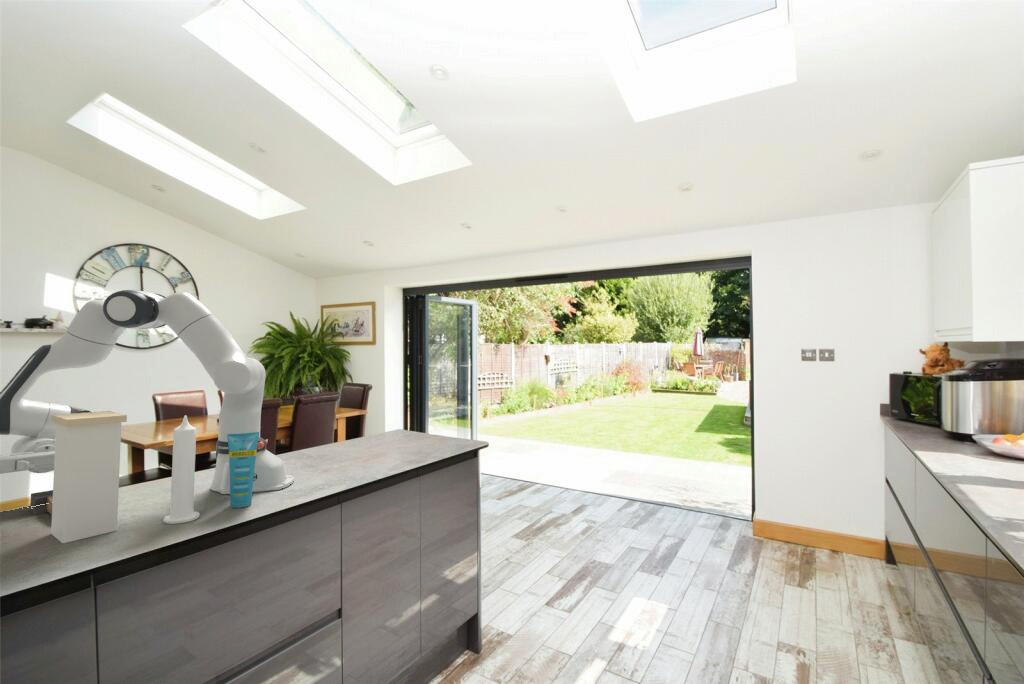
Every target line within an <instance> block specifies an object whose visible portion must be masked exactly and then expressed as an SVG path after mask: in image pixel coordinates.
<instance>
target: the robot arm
mask: <svg viewBox="0 0 1024 684" xmlns="http://www.w3.org/2000/svg"><path fill="white" fill-rule="evenodd" d="M165 326H167V327H168V328H170V329H171V330H172V331H173V332H174V333H175V335H176V336H177V337H178V338H179V339H180V340H181V341H182V343H183V344H185V346H186V347H187V348H188V349H189V350H190V351H191V352H192V353H193V354H194V355H195V357H196V358H197V359H198V361H199V362H200V363H201V365H202V366H203V368H204V370H205V371H206V373H207V374H208V376H209V377H210V378H211V379H212V381H213V382H214V385H215V387H216V388H217V389H218V390H219V391H220V392H223V398H222V404H221V408H220V411H219V415H218V433H217V434H218V435H217V437H218V439H217V440H216V444H215V458H216V464H215V469H214V470H215V471H214V473H213V478H212V482H211V484H210V487H209V489H210V490H211V491H213V492H218V493H220V494H221V495H230V463H229V446H228V439H227V434H240V433H251V432H260V433H259V439H258V445H257V452H256V460H255V469H254V479H253V490H252V493H256V492H268V491H269V492H270V491H279V490H282V488H283V489H285V488H288V487H289V486H291V485H292V484H293V483H294V482H293V481H295V477H294V476H293V475H292V474H288V472H287V468H286V467H287V466H286V463H285V462H284V460H283V459H281V458H280V457H278V456H277V455H275V453H274V454H273V453H272V452H271V451H269V450H268V449H267V444H268V443H269V442H268V440H269V439H268V438H267V439H264V438H263V437H262V436H261V421H262V420H261V419H262V418H261V415H262V407H263V401H264V393H265V386H266V385H265V383H266V376H267V375H266V374H267V372H266V369H265V367H264V365H263V363H261V362H260V361H259V360H258V359H256V358H253V357H248V356H247V355H246V353H245V352H243V350H242V349H241V347H240V346H239V344H238V343H237V342H236V339H235V338H234V336H233V335H232V334H231V333H230V331H228V329H227V328H226V327H225V326H224V325H223V323H221V321H220V320H219V319H218V317H216V316H215V315H214V314H213V312H212V311H211V310H210V309H209V308H208V307H207V306H205V304H203V303H202V302H201V301H200V300H198V299H197V298H196V297H195V296H193V295H192V294H191V293H189V292H186V291H178V292H173V293H171V294H169V295H167V296H164V295H162V294H160V293H153V292H149V291H145V290H134V289H123V290H118V291H116V292H115V291H114V292H112V293H111V294H110V295H108V296H107V297H106V298H105V299H104V300H102V299H93V300H89V301H87V302H86V303H85V304H84V305H83V306H82V307H81V308H80V309H79V311H78V312H77V313H76V315H75V316H74V317H73V319H72V320H71V322H70V323H69V325H68V327H67V328H66V330H65V333H64V334H63V335H62V336H61V337H60V338H59V339H57V340H56V341H54V342H52V343H50V344H45V345H42V346H40V347H38V348H37V349H36V350H35V351H34V352H33V353H32V354H31V355H30V356H29V358H27V360H26V361H25V363H23V365H22V366H20V367H19V368H20V369H18V370H17V372H16V373H15V374H14V375H13V377H11V379H10V380H9V381H8V383H6V385H5V387H3V388H2V389H1V391H0V436H3V435H4V436H9V435H13V436H21V437H20V438H18V439H17V440H16V441H15V442H14V443H13V445H12V447H11V448H10V454H9V453H7V454H2V455H1V454H0V475H1V474H10V473H15V472H16V473H17V472H24V471H26V472H27V471H29V472H30V473H34V474H46V473H50V472H54V460H55V438H56V423H54V422H51V418H52V415H58V414H72V413H76V411H75V410H74V408H73V407H72V406H70V405H67V404H61V403H53V402H46V401H39V400H30V399H26V398H24V397H25V396H26V394H27V393H28V392H29V391H30V389H31V388H32V387H33V386H34V385H35V383H36V382H37V381H38V379H39V378H40V377H41V376H43V375H45V374H47V373H49V372H53V371H59V370H65V369H81V368H87V367H92V366H95V365H98V364H100V363H102V362H103V361H105V360H107V358H108V357H109V356H110V354H111V352H112V351H113V350H114V347H115V345H116V343H117V341H118V339H119V337H120V336H121V333H122V332H123V331H124V330H125V329H138V330H149V329H159V328H163V327H165ZM290 484H291V485H290Z"/></svg>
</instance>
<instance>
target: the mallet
mask: <svg viewBox="0 0 1024 684" xmlns="http://www.w3.org/2000/svg"><path fill="white" fill-rule="evenodd" d="M52 502H53V489H52V490H51V489H50V490H45V491H39V492H33V493H30V503H29V507H30V506H36V505H40V504H45V505H40V506H36V507H32V508H33V509H31V510H30V511H31V513H32V514H33V515H39V514H44V513H49V514H50V515H51V516H52ZM46 503H49V504H46Z"/></svg>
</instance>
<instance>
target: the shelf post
mask: <svg viewBox="0 0 1024 684" xmlns="http://www.w3.org/2000/svg"><path fill="white" fill-rule="evenodd" d="M127 416H128V415H127V414H124V413H120V412H115V411H111V410H105V411H91V412H90V411H88V412H75V413H72V414H58V415H52V418H51V422H54V423H56V438H55V460H54V470H53V486H52V487H53V488H52V490H53V503H52V515H51V526H50V527H51V528H50V531H51V532H50V534H51V535H52V536H53V537H54V538H55V539H56V540H58V541H59V542H60V543H61V544H66V543H67V544H68V543H69V542H74V541H79V540H83V539H87V538H91V537H95V536H101V535H104V534H108V533H112V532H116V531H117V530H118V518H119V517H118V513H119V512H118V511H119V493H120V492H119V489H120V487H119V486H120V468H121V467H120V466H121V465H120V464H121V445H122V444H121V441H122V436H121V435H122V423H126V422H127V421H128V420H127V418H128V417H127Z"/></svg>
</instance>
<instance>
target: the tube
mask: <svg viewBox="0 0 1024 684" xmlns="http://www.w3.org/2000/svg"><path fill="white" fill-rule="evenodd" d="M259 433H260V434H261V431H260V432H251V433H240V434H227V439H228V446H229V463H230V494H229V506H230V507H231V508H235V509H238V508H239V509H240V508H246V507H249V506H251V504H252V498H253V492H252V490H253V479H254V469H255V460H256V452H257V445H258V439H259Z"/></svg>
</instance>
